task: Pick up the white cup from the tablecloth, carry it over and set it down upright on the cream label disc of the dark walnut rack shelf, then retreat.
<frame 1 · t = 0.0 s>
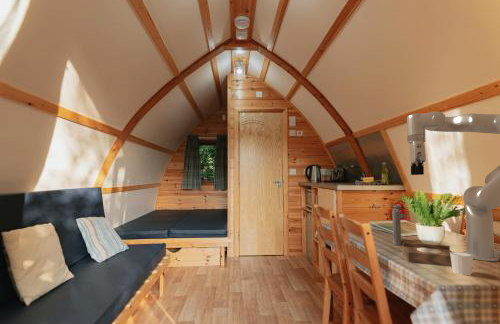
hand: (417, 174, 133), 37 cm above the table, tool pointing down, fingers open, 9 cm apart
rack: (429, 260, 118), on the table
white cup: (462, 273, 103), on the table
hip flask: (397, 242, 152), on the table
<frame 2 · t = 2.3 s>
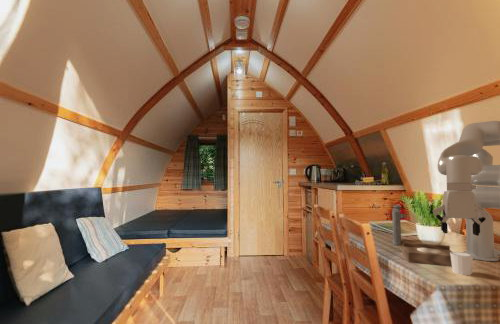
hand: (460, 233, 103), 14 cm above the table, tool pointing down, fingers open, 9 cm apart
nothing on the table moved.
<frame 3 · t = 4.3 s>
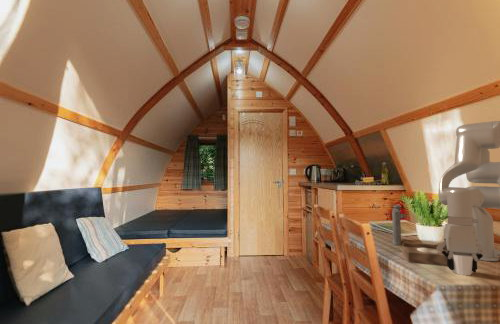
hand: (461, 269, 103), 1 cm above the table, tool pointing down, fingers closed on white cup, 6 cm apart
white cup: (462, 273, 103), on the table, touching gripper
everything else where it was.
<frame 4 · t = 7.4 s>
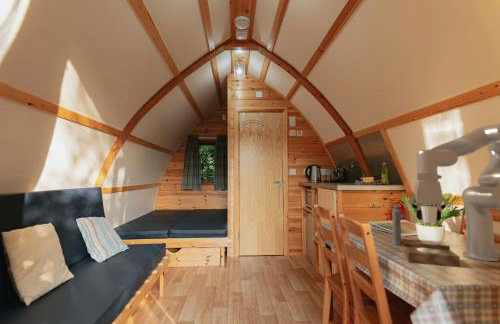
hand: (428, 219, 119), 17 cm above the table, tool pointing down, fingers closed on white cup, 6 cm apart
white cup: (428, 222, 119), point 16 cm above the table, touching gripper
everything else where it was.
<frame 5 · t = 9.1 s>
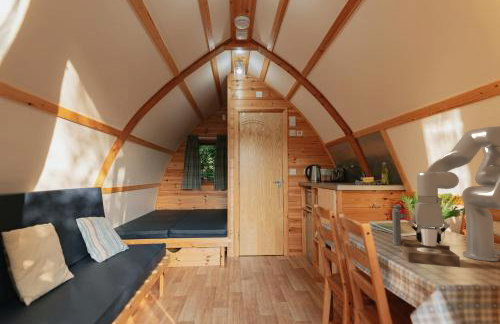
hand: (428, 241, 119), 8 cm above the table, tool pointing down, fingers closed on white cup, 6 cm apart
white cup: (428, 245, 119), point 6 cm above the table, touching gripper
everything else where it was.
when the fingers open (6 cm above the table, at t = 10.3 s): white cup drops 1 cm, resting on rack.
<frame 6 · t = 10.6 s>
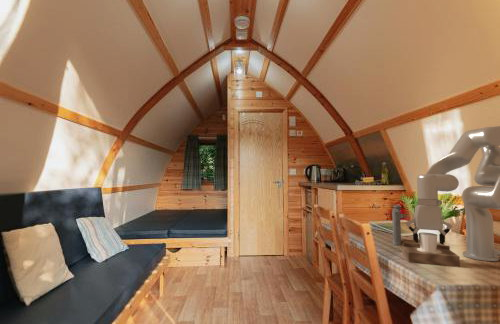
hand: (428, 243, 119), 7 cm above the table, tool pointing down, fingers open, 9 cm apart
white cup: (428, 250, 119), point 4 cm above the table, touching rack
everything else where it was.
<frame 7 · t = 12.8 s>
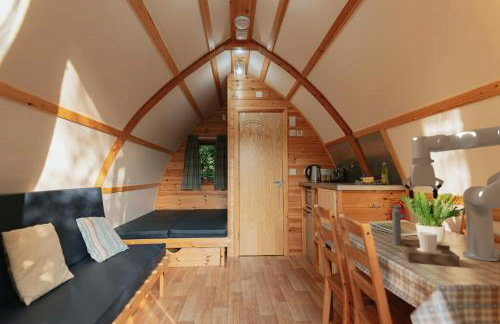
hand: (423, 198, 130), 26 cm above the table, tool pointing down, fingers open, 9 cm apart
nothing on the table moved.
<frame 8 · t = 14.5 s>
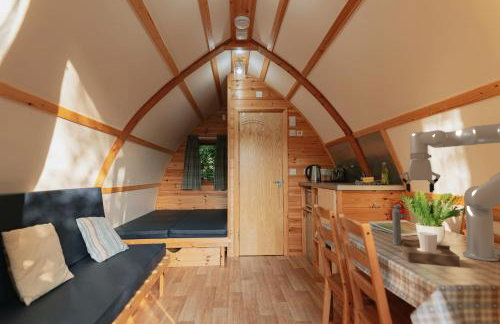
hand: (419, 192, 136), 28 cm above the table, tool pointing down, fingers open, 9 cm apart
nothing on the table moved.
at the end: white cup 0.3 cm off-centre on the rack, point 4.0 cm above the rack's base; white cup tilted 0°; the gripper is holding nothing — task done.
